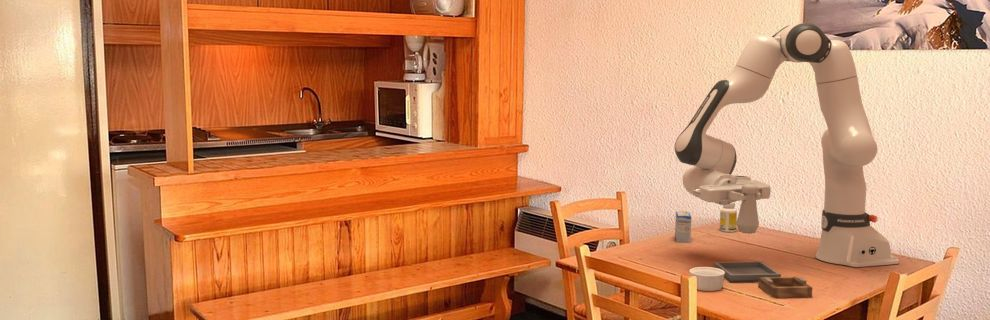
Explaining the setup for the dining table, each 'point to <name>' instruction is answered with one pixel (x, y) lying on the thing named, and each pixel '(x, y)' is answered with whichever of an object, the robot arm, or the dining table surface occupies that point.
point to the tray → (745, 271)
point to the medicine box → (683, 226)
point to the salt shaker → (748, 210)
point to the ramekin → (708, 278)
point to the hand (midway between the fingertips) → (751, 197)
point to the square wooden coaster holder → (785, 287)
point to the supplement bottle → (728, 218)
